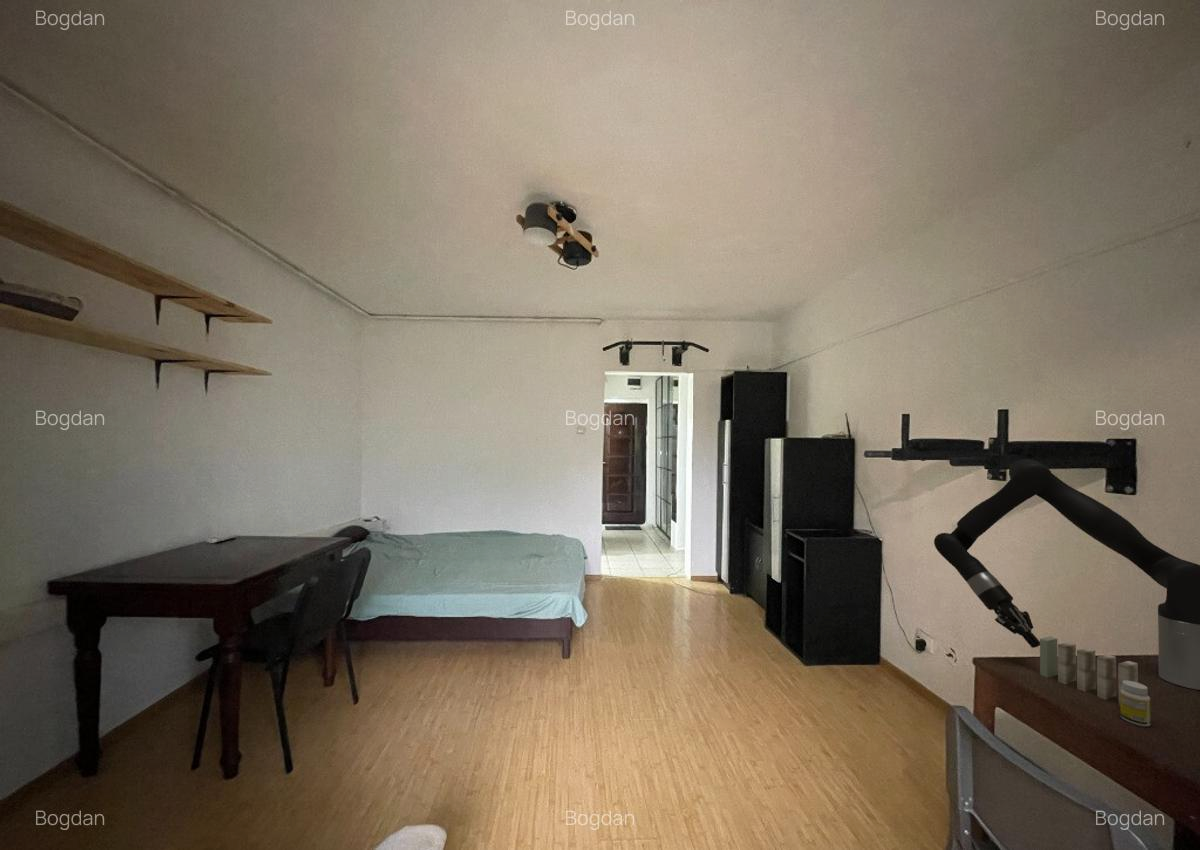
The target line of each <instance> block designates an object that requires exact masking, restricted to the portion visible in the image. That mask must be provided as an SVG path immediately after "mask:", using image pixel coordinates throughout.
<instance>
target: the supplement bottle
mask: <svg viewBox="0 0 1200 850" xmlns="http://www.w3.org/2000/svg"><path fill="white" fill-rule="evenodd" d="M1122 688H1123V689H1121V690H1120V705H1119V706H1120V717H1121V719H1122V720H1124V721H1126V722H1128V723H1130V724H1133V725H1137V726H1139V727H1150V726H1151V725H1152V720H1151V719H1152V718H1151V717H1152V716H1151V697H1150V696H1149V695H1148V693H1149V690H1148V689H1149V688H1148V687H1147V686H1146V685H1144V684H1142V683H1140V682H1138V683H1137V682H1133V681H1127V680H1124V681H1122Z"/></svg>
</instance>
